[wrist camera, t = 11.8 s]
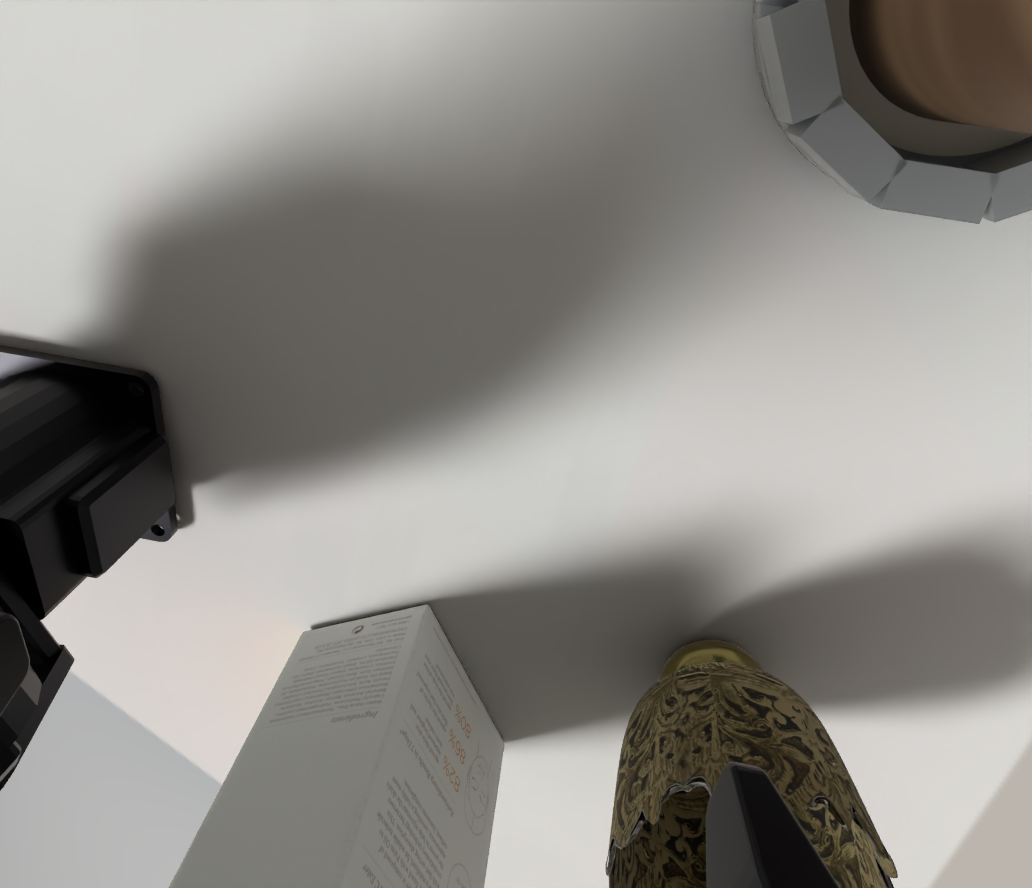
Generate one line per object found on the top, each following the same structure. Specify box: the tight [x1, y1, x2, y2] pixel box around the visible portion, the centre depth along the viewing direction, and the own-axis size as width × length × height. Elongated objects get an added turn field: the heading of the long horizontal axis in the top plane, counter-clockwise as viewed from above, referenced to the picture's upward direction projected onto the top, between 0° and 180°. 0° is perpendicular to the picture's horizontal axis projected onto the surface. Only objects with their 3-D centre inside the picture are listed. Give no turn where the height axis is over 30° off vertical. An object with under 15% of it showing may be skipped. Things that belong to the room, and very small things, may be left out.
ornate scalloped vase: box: [606, 640, 898, 888], centre depth 21 cm, size 8×7×8 cm
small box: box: [169, 605, 504, 888], centre depth 23 cm, size 8×6×10 cm
